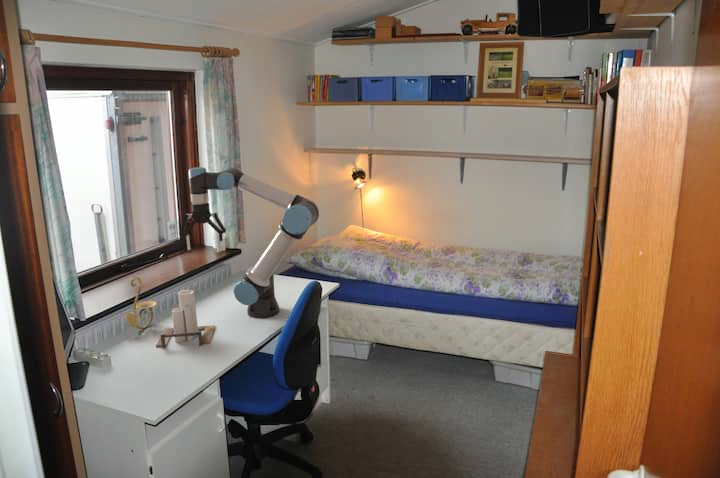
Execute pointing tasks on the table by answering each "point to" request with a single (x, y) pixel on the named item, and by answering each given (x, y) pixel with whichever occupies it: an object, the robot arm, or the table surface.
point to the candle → (185, 316)
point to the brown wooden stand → (202, 338)
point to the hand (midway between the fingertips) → (204, 248)
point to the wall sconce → (131, 317)
